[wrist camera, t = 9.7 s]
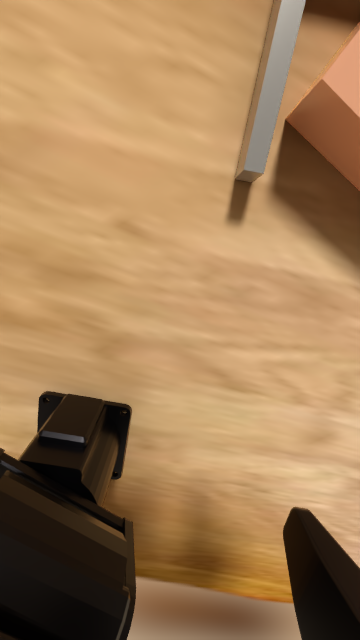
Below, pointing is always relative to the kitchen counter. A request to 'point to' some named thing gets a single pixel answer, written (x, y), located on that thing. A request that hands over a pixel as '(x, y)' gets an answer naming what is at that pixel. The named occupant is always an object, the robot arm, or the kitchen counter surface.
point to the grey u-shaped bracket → (269, 87)
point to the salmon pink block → (335, 110)
